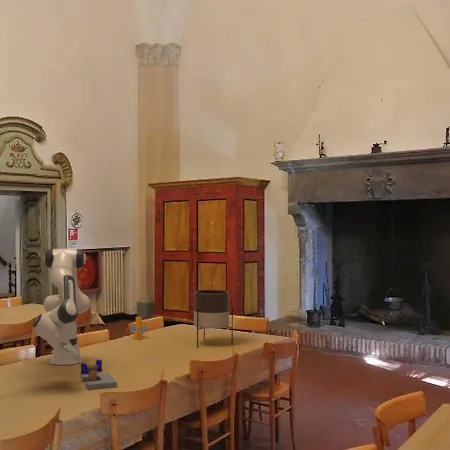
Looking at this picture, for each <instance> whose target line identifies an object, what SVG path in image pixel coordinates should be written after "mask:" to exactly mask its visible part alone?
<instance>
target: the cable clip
mask: <svg viewBox="0 0 450 450" xmlns="http://www.w3.org/2000/svg"><path fill="white" fill-rule="evenodd" d="M94 365H98V368H97V373H101V372H102V371H103V360H101V359H96V360H95V364H94ZM87 366H88V364H87V363H85V362H82V363H80V376H81V375H84V374H89V369H88V368H87Z"/></svg>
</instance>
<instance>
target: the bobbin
mask: <svg viewBox="0 0 450 450" xmlns="http://www.w3.org/2000/svg"><path fill="white" fill-rule="evenodd" d="M87 368H88V369H89V375H88V381H87V382H90V381H97V373H98V372H97V368H98V365H95V364H87Z"/></svg>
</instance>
